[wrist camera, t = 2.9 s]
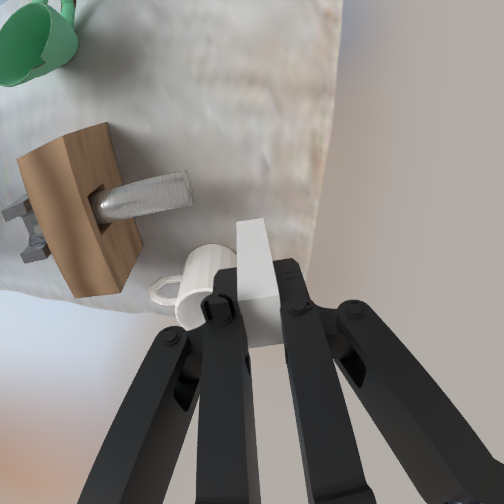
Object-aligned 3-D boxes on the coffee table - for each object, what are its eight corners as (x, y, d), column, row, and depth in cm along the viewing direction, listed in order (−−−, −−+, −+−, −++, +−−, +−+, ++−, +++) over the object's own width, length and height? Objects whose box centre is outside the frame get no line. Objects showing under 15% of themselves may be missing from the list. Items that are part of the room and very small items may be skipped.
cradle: (51, 234, 35) (24, 263, 28) (33, 188, 31) (1, 211, 24) (73, 228, 35) (46, 258, 28) (55, 179, 31) (22, 201, 24)
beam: (103, 253, 38) (75, 298, 29) (64, 139, 28) (16, 159, 19) (143, 246, 38) (120, 293, 29) (106, 122, 28) (62, 135, 19)
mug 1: (84, 82, 25) (38, 84, 16) (31, 83, 23) (-16, 90, 14) (116, -18, 18) (82, -43, 9) (58, -9, 16) (18, -24, 7)
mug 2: (160, 235, 37) (140, 278, 29) (246, 248, 39) (249, 294, 30) (158, 281, 41) (143, 328, 33) (236, 292, 43) (237, 341, 34)
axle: (54, 230, 30) (40, 244, 27) (44, 206, 28) (29, 218, 25) (194, 198, 29) (190, 211, 26) (187, 166, 27) (181, 175, 24)
